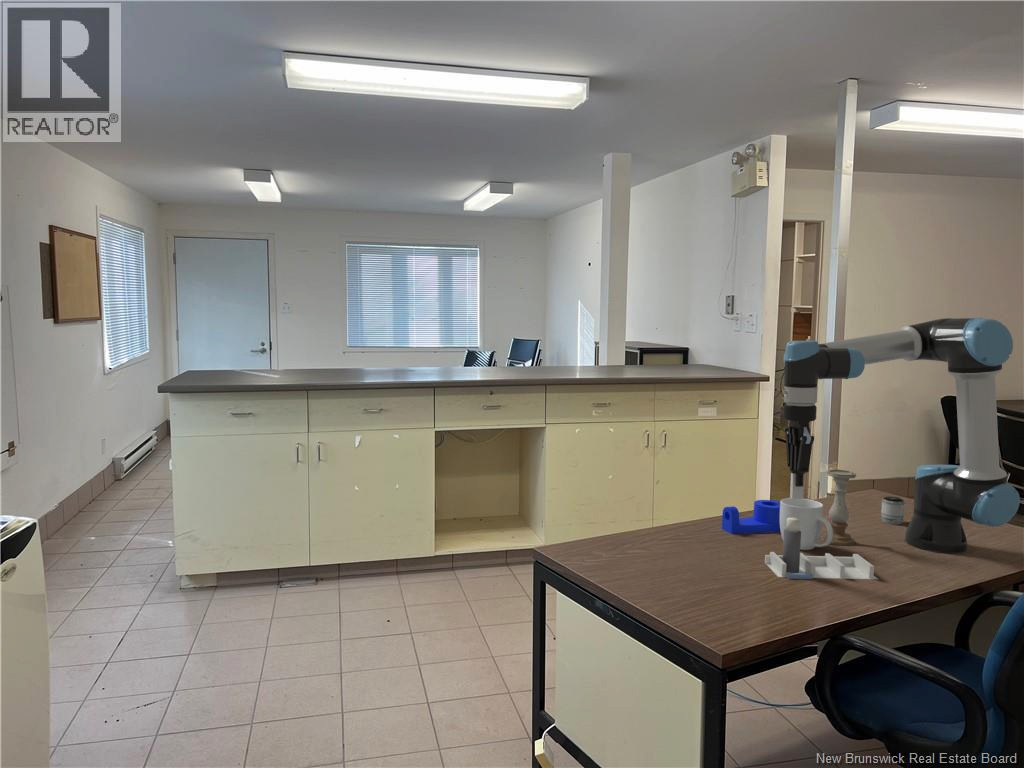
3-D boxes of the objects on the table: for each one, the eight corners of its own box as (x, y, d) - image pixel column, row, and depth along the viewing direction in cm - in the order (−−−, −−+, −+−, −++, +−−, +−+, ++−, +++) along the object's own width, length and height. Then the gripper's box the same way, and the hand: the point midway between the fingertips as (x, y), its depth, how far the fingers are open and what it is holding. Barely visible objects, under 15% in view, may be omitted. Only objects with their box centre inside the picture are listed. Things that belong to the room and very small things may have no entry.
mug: (842, 554, 188) (845, 507, 187) (818, 562, 182) (821, 513, 181) (793, 539, 200) (795, 495, 199) (769, 546, 194) (771, 500, 193)
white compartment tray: (859, 568, 178) (859, 553, 177) (879, 584, 167) (880, 568, 167) (764, 566, 178) (765, 551, 178) (779, 582, 168) (780, 566, 167)
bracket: (771, 522, 218) (772, 498, 218) (791, 531, 210) (792, 506, 209) (717, 527, 212) (718, 503, 212) (735, 536, 204) (736, 511, 203)
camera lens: (876, 519, 222) (877, 495, 221) (894, 519, 223) (896, 495, 222) (889, 525, 216) (890, 500, 215) (907, 524, 217) (909, 500, 216)
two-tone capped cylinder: (795, 567, 175) (798, 517, 174) (801, 573, 171) (804, 521, 170) (779, 566, 175) (781, 516, 174) (785, 572, 171) (787, 521, 170)
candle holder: (856, 548, 194) (860, 476, 192) (822, 544, 197) (826, 474, 195) (852, 538, 202) (856, 470, 200) (819, 535, 205) (823, 468, 203)
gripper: (775, 400, 176) (772, 491, 178) (794, 407, 163) (791, 505, 165) (805, 400, 176) (801, 491, 178) (826, 407, 163) (822, 505, 165)
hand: (796, 498), depth 172 cm, fingers closed
